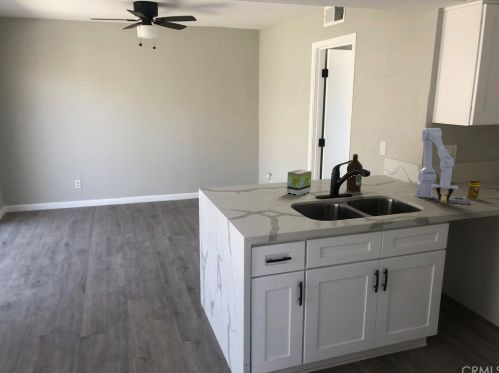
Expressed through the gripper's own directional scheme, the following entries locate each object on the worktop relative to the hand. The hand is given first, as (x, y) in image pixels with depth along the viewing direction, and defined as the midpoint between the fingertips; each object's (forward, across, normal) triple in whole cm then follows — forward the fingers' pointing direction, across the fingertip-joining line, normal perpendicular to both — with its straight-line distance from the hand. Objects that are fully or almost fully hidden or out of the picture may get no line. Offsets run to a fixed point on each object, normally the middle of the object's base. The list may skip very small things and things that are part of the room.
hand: (443, 200), depth 255 cm
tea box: (+2, -88, -8) cm, 88 cm away
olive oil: (+2, -56, +16) cm, 58 cm away
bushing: (+2, 0, 0) cm, 2 cm away
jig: (+2, +5, +10) cm, 11 cm away
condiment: (+2, +17, +23) cm, 29 cm away
